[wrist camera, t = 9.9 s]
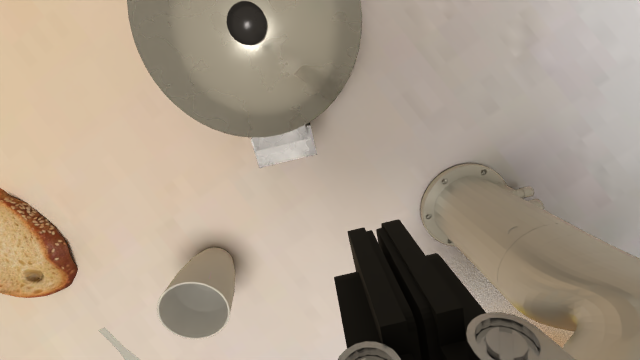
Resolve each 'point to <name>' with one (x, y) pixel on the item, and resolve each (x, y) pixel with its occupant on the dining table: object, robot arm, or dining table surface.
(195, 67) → the lid
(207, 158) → the dining table surface
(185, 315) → the cup
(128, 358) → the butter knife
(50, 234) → the slice of bread
